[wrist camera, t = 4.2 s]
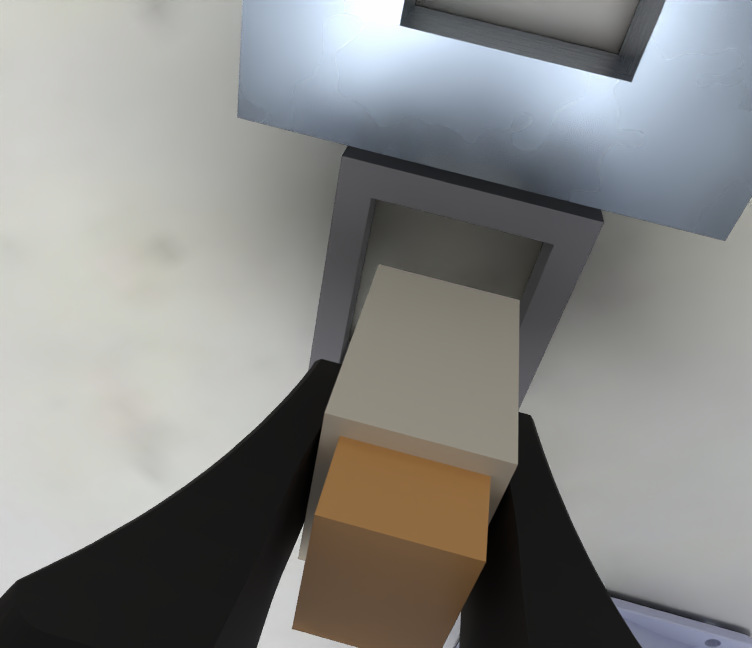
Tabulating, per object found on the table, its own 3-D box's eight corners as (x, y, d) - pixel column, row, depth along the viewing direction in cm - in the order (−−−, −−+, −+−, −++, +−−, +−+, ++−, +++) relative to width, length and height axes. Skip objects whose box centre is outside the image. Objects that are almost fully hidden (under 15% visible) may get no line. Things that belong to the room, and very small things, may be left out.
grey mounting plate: (598, 198, 14) (603, 222, 14) (507, 405, 19) (507, 434, 18) (354, 136, 15) (341, 155, 14) (317, 354, 19) (306, 380, 18)
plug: (519, 299, 13) (517, 551, 8) (468, 431, 15) (443, 684, 11) (378, 263, 13) (296, 490, 8) (350, 399, 16) (273, 635, 11)
